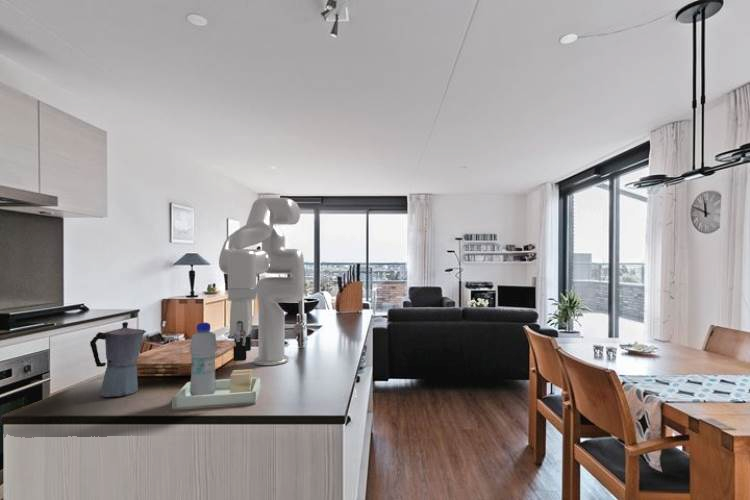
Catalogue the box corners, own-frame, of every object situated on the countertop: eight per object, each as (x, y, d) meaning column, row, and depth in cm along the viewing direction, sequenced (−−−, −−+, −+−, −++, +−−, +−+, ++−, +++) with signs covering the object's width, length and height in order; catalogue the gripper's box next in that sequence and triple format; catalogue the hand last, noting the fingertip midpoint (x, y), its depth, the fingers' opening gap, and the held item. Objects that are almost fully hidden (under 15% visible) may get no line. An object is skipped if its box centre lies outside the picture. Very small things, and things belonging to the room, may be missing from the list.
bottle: (206, 401, 100) (206, 324, 100) (183, 400, 101) (184, 324, 102) (221, 393, 106) (222, 320, 107) (200, 392, 107) (200, 320, 108)
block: (233, 391, 107) (233, 370, 108) (251, 390, 108) (252, 369, 109) (230, 397, 102) (230, 375, 103) (249, 396, 103) (249, 374, 104)
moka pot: (155, 387, 114) (156, 319, 115) (103, 405, 100) (105, 327, 100) (131, 384, 117) (132, 318, 118) (78, 401, 103) (80, 326, 103)
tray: (187, 392, 109) (188, 381, 109) (260, 387, 113) (260, 377, 113) (172, 410, 95) (172, 398, 96) (255, 404, 99) (255, 392, 99)
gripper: (233, 291, 114) (233, 348, 115) (221, 298, 97) (222, 365, 98) (259, 290, 116) (259, 346, 116) (252, 297, 99) (253, 363, 99)
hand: (242, 355), depth 107 cm, fingers open, 9 cm apart
